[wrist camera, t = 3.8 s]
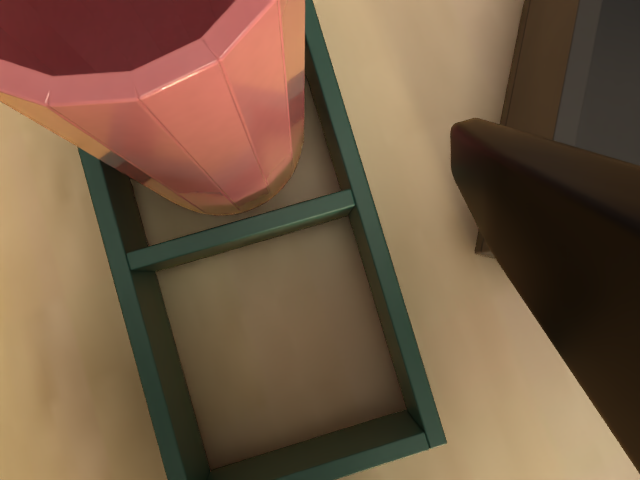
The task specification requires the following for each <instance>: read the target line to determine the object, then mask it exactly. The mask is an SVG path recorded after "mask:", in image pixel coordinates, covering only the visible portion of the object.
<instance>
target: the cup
mask: <svg viewBox="0 0 640 480" xmlns="http://www.w3.org/2000/svg"><path fill="white" fill-rule="evenodd" d="M304 85H305V0H0V101H1V102H2V103H4V104H6V105H7V106H9V107H11V108H13V109H14V110H16V111H18V112H19V113H21V114H23V115H24V116H26V117H28V118H30V119H31V120H33V121H35V122H36V123H38V124H40V125H42V126H43V127H45V128H47V129H48V130H50V131H52V132H53V133H55V134H57V135H59V136H60V137H62V138H64V139H65V140H67V141H69V142H70V143H72V144H74V145H76V146H77V147H79V148H81V149H82V150H84V151H86V152H88V153H89V154H91V155H93V156H94V157H96V158H98V159H99V160H101V161H103V162H105V163H106V164H108V165H110V166H111V167H113V168H115V169H117V170H118V171H120V172H122V173H123V174H125V175H127V176H128V177H130V178H132V179H134V180H135V181H137V182H139V183H140V184H142V185H144V186H145V187H147V188H149V189H151V190H152V191H154V192H156V193H157V194H159V195H161V196H163V197H164V198H166V199H168V200H169V201H171V202H173V203H175V204H176V205H179V206H182V207H185V208H187V209H190V210H192V211H195V212H199V213H202V214H208V215H233V214H239V213H242V212H246V211H249V210H251V209H254V208H256V207H258V206H260V205H262V204H264V203H265V202H267V201H268V200H270V199H271V198H272V197H274V196H275V195H276V194H277V193H278V192H279V191H280V190H281V189H282V188H283V187H284V186H285V184H286V183H287V182H288V180H289V179H290V178H291V176H292V174H293V172H294V171H295V169H296V166H297V164H298V161H299V158H300V154H301V151H302V146H303V143H304Z"/></svg>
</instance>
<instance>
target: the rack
mask: <svg viewBox="0 0 640 480" xmlns="http://www.w3.org/2000/svg"><path fill="white" fill-rule="evenodd" d="M305 73H306V76H307V79H308V82H309V86H310V89H311V92H312V96H313V99H314V102H315V106H316V109H317V112H318V116H319V119H320V122H321V126H322V129H323V132H324V136H325V139H326V142H327V146H328V149H329V152H330V156H331V159H332V162H333V166H334V169H335V172H336V175H337V179H338V182H339V185H340V189H341V191H339V192H336V193H332V194H329V195H325V196H322V197H318V198H315V199H311V200H308V201H304V202H301V203H298V204H294V205H291V206H287V207H284V208H280V209H277V210H273V211H270V212H266V213H263V214H259V215H256V216H253V217H249V218H246V219H242V220H239V221H235V222H232V223H228V224H225V225H221V226H218V227H214V228H211V229H208V230H204V231H201V232H197V233H194V234H190V235H187V236H183V237H180V238H176V239H173V240H170V241H166V242H163V243H159V244H156V245H152V246H149V247H148V244H147V240H146V236H145V233H144V229H143V225H142V222H141V218H140V215H139V211H138V207H137V204H136V200H135V196H134V193H133V189H132V186H131V182H130V178H129V177H128V176H127V175H125V174H123V173H122V172H120V171H118V170H117V169H115V168H113V167H111V166H110V165H108V164H106V163H105V162H103V161H101V160H99V159H98V158H96V157H94V156H93V155H91V154H89V153H88V152H86V151H84V150H82V149H81V148H79V147H78V151H79V154H80V158H81V162H82V165H83V169H84V173H85V177H86V180H87V184H88V188H89V191H90V195H91V199H92V202H93V206H94V210H95V214H96V217H97V221H98V225H99V228H100V232H101V236H102V239H103V243H104V247H105V250H106V254H107V258H108V262H109V265H110V269H111V273H112V276H113V280H114V284H115V287H116V291H117V295H118V298H119V302H120V306H121V310H122V313H123V317H124V321H125V324H126V328H127V332H128V335H129V339H130V343H131V346H132V350H133V354H134V358H135V361H136V365H137V369H138V372H139V376H140V380H141V383H142V387H143V391H144V394H145V398H146V402H147V406H148V409H149V413H150V417H151V420H152V424H153V428H154V431H155V435H156V439H157V442H158V446H159V450H160V454H161V457H162V461H163V465H164V468H165V472H166V476H167V479H168V480H336V479H339V478H342V477H346V476H349V475H352V474H355V473H358V472H361V471H364V470H368V469H371V468H374V467H377V466H380V465H383V464H386V463H390V462H393V461H396V460H399V459H402V458H405V457H408V456H412V455H415V454H418V453H421V452H424V451H427V450H429V448H430V449H433V448H436V447H439V446H442V445H445V444H447V441H446V437H445V434H444V431H443V427H442V424H441V421H440V418H439V414H438V411H437V408H436V404H435V401H434V398H433V395H432V391H431V388H430V385H429V381H428V378H427V375H426V372H425V368H424V365H423V362H422V358H421V355H420V352H419V349H418V345H417V342H416V339H415V335H414V332H413V329H412V326H411V322H410V319H409V316H408V313H407V309H406V306H405V303H404V299H403V296H402V293H401V290H400V286H399V283H398V280H397V276H396V273H395V270H394V267H393V263H392V260H391V257H390V253H389V250H388V247H387V244H386V240H385V237H384V234H383V230H382V227H381V224H380V221H379V217H378V214H377V211H376V207H375V204H374V201H373V198H372V194H371V191H370V188H369V184H368V181H367V178H366V175H365V171H364V168H363V165H362V161H361V158H360V155H359V152H358V148H357V145H356V142H355V139H354V135H353V132H352V129H351V125H350V122H349V119H348V116H347V112H346V109H345V106H344V102H343V99H342V96H341V93H340V89H339V86H338V83H337V79H336V76H335V73H334V70H333V66H332V63H331V60H330V56H329V53H328V50H327V47H326V43H325V40H324V37H323V33H322V30H321V27H320V24H319V20H318V17H317V14H316V10H315V7H314V4H313V1H312V0H305ZM348 215H349V219H350V222H351V225H352V229H353V232H354V235H355V239H356V242H357V245H358V249H359V252H360V255H361V259H362V262H363V265H364V268H365V272H366V275H367V278H368V282H369V285H370V288H371V292H372V295H373V298H374V302H375V305H376V308H377V312H378V315H379V318H380V322H381V325H382V328H383V332H384V335H385V338H386V342H387V345H388V348H389V352H390V355H391V358H392V361H393V365H394V368H395V371H396V375H397V378H398V381H399V385H400V388H401V391H402V395H403V398H404V401H405V405H406V408H407V410H403V411H400V412H396V413H393V414H390V415H387V416H384V417H380V418H377V419H374V420H371V421H368V422H365V423H361V424H358V425H355V426H352V427H349V428H345V429H342V430H339V431H336V432H333V433H329V434H326V435H323V436H320V437H317V438H313V439H310V440H307V441H304V442H301V443H297V444H294V445H291V446H288V447H285V448H281V449H278V450H275V451H272V452H269V453H266V454H262V455H259V456H256V457H253V458H250V459H246V460H243V461H240V462H237V463H234V464H230V465H227V466H224V467H221V468H218V469H214V470H212V471H211V472H210V468H209V465H208V461H207V457H206V454H205V450H204V446H203V443H202V439H201V436H200V432H199V428H198V425H197V421H196V417H195V414H194V410H193V407H192V403H191V399H190V396H189V392H188V388H187V385H186V381H185V378H184V374H183V370H182V367H181V363H180V359H179V356H178V352H177V349H176V345H175V341H174V338H173V334H172V330H171V327H170V323H169V320H168V316H167V312H166V309H165V305H164V301H163V298H162V294H161V291H160V287H159V283H158V280H157V276H156V272H155V271H161V270H164V269H168V268H171V267H174V266H178V265H181V264H185V263H188V262H192V261H195V260H198V259H202V258H205V257H209V256H212V255H216V254H219V253H222V252H226V251H229V250H233V249H236V248H240V247H243V246H246V245H250V244H253V243H257V242H260V241H264V240H267V239H270V238H274V237H277V236H281V235H284V234H287V233H291V232H294V231H298V230H301V229H305V228H308V227H311V226H315V225H318V224H322V223H325V222H329V221H332V220H335V219H339V218H342V217H346V216H348Z"/></svg>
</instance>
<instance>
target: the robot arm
mask: <svg viewBox="0 0 640 480" xmlns="http://www.w3.org/2000/svg"><path fill="white" fill-rule="evenodd" d="M450 139H451V170H452V174H453V177H454V180H455V182H456V184H457V186H458V188H459V190H460V192H461V194H462V196H463V198H464V200H465V202H466V204H467V206H468V208H469V210H470V212H471V214H472V216H473V218H474V220H475V222H476V224H477V226H478V228H479V230H480V232H481V234H482V236H483V238H484V240H485V242H486V244H487V245H488V247H489V249H490V251H491V252H492V254H493V255H494V257H495V259H496V260H497V262H498V263H499V265H500V266H501V267H502V269H503V270H504V272H505V273H506V275H507V276H508V278H509V279H510V281H511V282H512V284H513V285H514V287H515V288H516V290H517V291H518V293H519V294H520V296H521V297H522V299H523V300H524V302H525V303H526V305H527V306H528V308H529V309H530V311H531V312H532V314H533V315H534V317H535V318H536V320H537V321H538V323H539V324H540V326H541V327H542V329H543V330H544V332H545V333H546V335H547V336H548V338H549V339H550V341H551V342H552V344H553V345H554V347H555V348H556V350H557V351H558V353H559V354H560V356H561V357H562V359H563V360H564V361H565V363H566V364H567V366H568V367H569V369H570V370H571V372H572V373H573V375H574V376H575V378H576V379H577V381H578V382H579V384H580V385H581V387H582V388H583V390H584V391H585V393H586V394H587V396H588V397H589V399H590V400H591V402H592V403H593V405H594V406H595V408H596V409H597V411H598V412H599V414H600V415H601V417H602V418H603V420H604V421H605V423H606V424H607V426H608V427H609V429H610V430H611V432H612V433H613V435H614V436H615V438H616V439H617V441H618V442H619V444H620V445H621V447H622V448H623V450H624V451H625V453H626V454H627V455H628V457H629V458H630V460H631V461H632V463H633V464H634V466H635V467H636V469H637V470H638V472H639V473H640V166H639V165H635V164H632V163H629V162H625V161H622V160H618V159H615V158H612V157H608V156H605V155H601V154H598V153H595V152H591V151H588V150H585V149H581V148H578V147H574V146H571V145H568V144H564V143H561V142H557V141H554V140H551V139H547V138H544V137H540V136H537V135H534V134H530V133H527V132H523V131H520V130H517V129H513V128H510V127H507V126H503V125H500V124H496V123H493V122H490V121H486V120H483V119H479V118H472V119H469V120H465V121H462V122H458V123H455V124H454V125H453V126H452V128H451V133H450Z"/></svg>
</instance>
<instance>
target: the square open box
mask: <svg viewBox="0 0 640 480" xmlns="http://www.w3.org/2000/svg"><path fill="white" fill-rule="evenodd" d="M500 125H503V126H507V127H510V128H513V129H517V130H520V131H523V132H527V133H530V134H534V135H537V136H540V137H544V138H547V139H551V140H554V141H557V142H561V143H564V144H568V145H571V146H574V147H578V148H581V149H585V150H588V151H591V152H595V153H598V154H601V155H605V156H608V157H612V158H615V159H618V160H622V161H625V162H629V163H632V164H635V165H639V166H640V0H525V1H524V6H523V11H522V16H521V21H520V26H519V31H518V36H517V41H516V46H515V52H514V57H513V62H512V67H511V72H510V77H509V82H508V87H507V92H506V97H505V102H504V107H503V112H502V117H501V122H500ZM475 253H476V254H478V255H482V256H487V257H491V258H495V257H494V255H493V254H492V252H491V251H490V249H489V247H488V245H487V244H486V242H485V240H484V238H483V236H482V234H481V232H480V230H479V233H478V238H477V243H476V248H475Z"/></svg>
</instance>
